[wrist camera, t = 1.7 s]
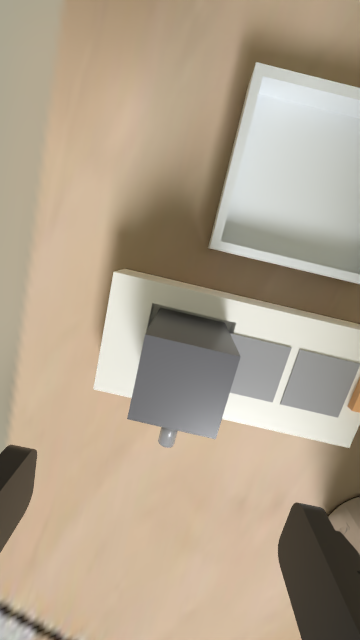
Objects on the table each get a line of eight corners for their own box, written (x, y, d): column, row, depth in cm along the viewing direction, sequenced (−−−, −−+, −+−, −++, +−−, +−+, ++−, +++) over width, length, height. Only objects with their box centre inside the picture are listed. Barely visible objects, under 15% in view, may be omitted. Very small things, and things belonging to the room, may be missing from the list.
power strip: (367, 325, 23) (404, 341, 19) (327, 421, 25) (353, 453, 21) (125, 268, 23) (111, 272, 19) (106, 370, 25) (90, 393, 21)
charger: (225, 322, 21) (240, 356, 14) (202, 404, 23) (206, 468, 16) (160, 307, 21) (145, 334, 14) (142, 390, 23) (120, 449, 16)
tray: (417, 127, 19) (449, 110, 17) (357, 283, 22) (377, 287, 20) (248, 86, 19) (256, 62, 17) (207, 248, 22) (209, 247, 19)
